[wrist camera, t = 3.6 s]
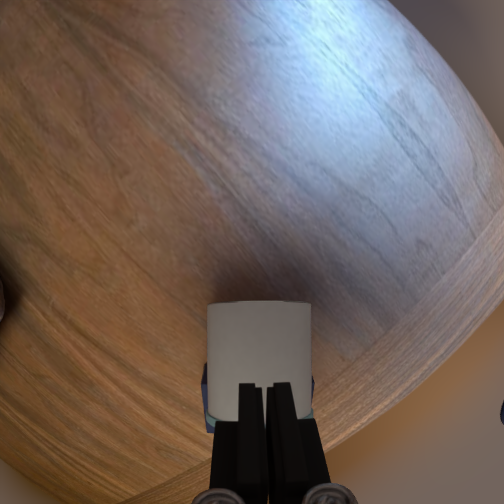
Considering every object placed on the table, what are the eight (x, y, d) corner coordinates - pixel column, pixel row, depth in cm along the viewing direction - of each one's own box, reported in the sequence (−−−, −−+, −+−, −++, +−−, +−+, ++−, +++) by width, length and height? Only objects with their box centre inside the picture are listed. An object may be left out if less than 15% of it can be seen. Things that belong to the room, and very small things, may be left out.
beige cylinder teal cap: (209, 266, 24) (185, 338, 15) (306, 265, 24) (341, 336, 15) (215, 376, 27) (204, 466, 18) (297, 375, 27) (315, 464, 18)
